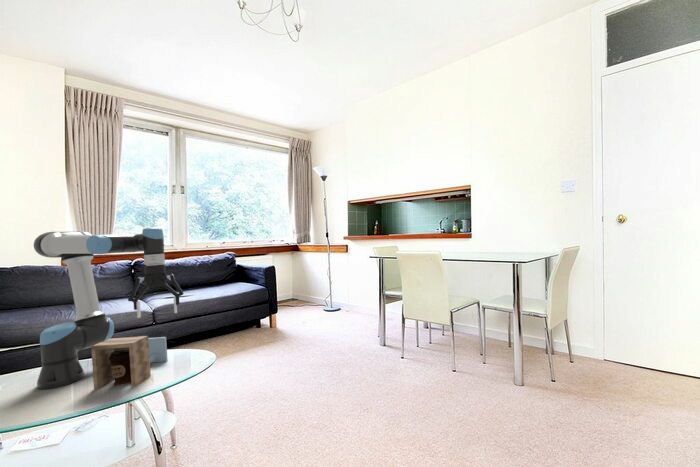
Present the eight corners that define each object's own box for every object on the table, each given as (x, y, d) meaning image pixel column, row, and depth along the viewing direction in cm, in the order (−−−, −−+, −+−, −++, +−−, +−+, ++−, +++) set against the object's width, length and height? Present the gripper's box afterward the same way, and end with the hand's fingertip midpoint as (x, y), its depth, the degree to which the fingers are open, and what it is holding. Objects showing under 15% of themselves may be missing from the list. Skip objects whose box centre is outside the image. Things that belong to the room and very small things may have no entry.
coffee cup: (123, 388, 131) (120, 354, 132) (104, 388, 133) (102, 354, 133) (141, 379, 140) (139, 347, 140) (123, 379, 142) (121, 347, 142)
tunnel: (112, 380, 142) (109, 338, 142) (150, 377, 142) (148, 335, 142) (94, 390, 132) (91, 346, 132) (135, 387, 132) (132, 343, 132)
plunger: (145, 362, 160) (143, 338, 160) (168, 360, 160) (167, 336, 160) (119, 377, 142) (117, 351, 142) (145, 375, 142) (143, 349, 142)
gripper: (117, 267, 136) (120, 321, 136) (186, 262, 145) (189, 312, 145) (122, 266, 143) (125, 317, 143) (188, 261, 152) (191, 309, 152)
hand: (157, 315), depth 144 cm, fingers open, 13 cm apart
